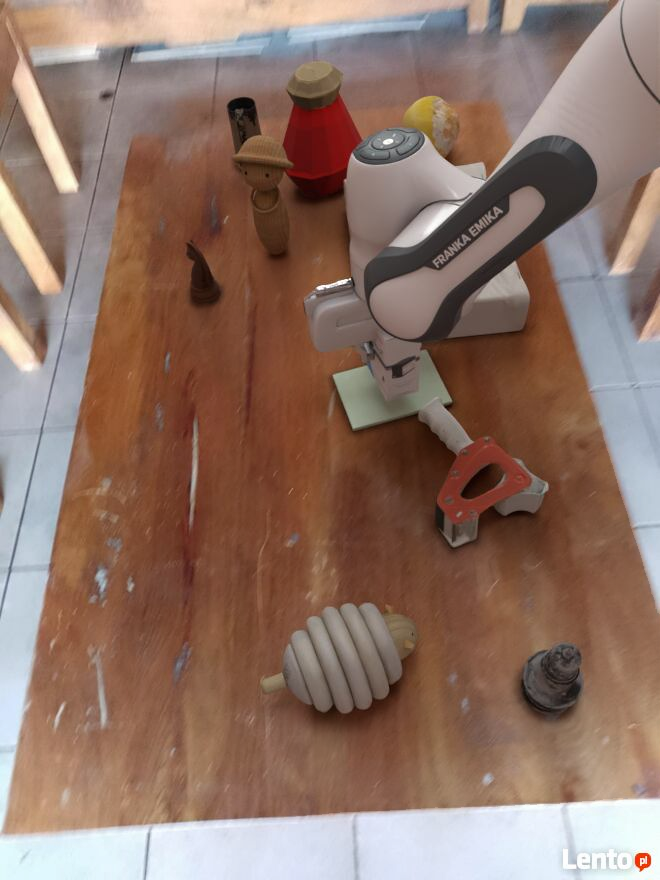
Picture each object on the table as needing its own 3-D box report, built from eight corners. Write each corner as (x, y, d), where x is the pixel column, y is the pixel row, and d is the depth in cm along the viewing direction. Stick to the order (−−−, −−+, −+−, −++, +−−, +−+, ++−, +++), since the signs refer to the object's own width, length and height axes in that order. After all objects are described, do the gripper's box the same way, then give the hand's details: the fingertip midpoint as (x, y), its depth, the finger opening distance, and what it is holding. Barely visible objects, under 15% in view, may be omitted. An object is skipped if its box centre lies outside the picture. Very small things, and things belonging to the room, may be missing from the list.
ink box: (362, 358, 98) (358, 294, 89) (395, 347, 99) (395, 283, 89) (385, 403, 93) (384, 341, 84) (420, 392, 94) (423, 329, 84)
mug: (237, 153, 134) (224, 91, 124) (266, 150, 134) (256, 88, 124) (235, 179, 130) (222, 117, 120) (265, 176, 129) (255, 113, 120)
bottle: (323, 147, 133) (313, 36, 117) (380, 172, 127) (378, 59, 111) (265, 191, 127) (246, 80, 111) (322, 219, 121) (311, 106, 105)
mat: (426, 351, 102) (426, 349, 102) (452, 403, 97) (452, 401, 96) (332, 377, 101) (332, 374, 101) (353, 431, 95) (353, 428, 95)
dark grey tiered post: (517, 658, 77) (534, 616, 67) (573, 663, 76) (600, 621, 66) (519, 715, 73) (537, 680, 63) (578, 720, 72) (606, 686, 63)
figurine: (244, 262, 116) (220, 151, 100) (259, 233, 120) (237, 122, 104) (297, 269, 115) (281, 157, 98) (310, 239, 118) (296, 127, 102)
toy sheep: (438, 685, 76) (444, 650, 66) (293, 761, 72) (278, 735, 63) (391, 601, 81) (390, 558, 72) (254, 668, 78) (235, 631, 69)
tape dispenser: (424, 411, 98) (385, 532, 86) (424, 384, 94) (383, 508, 82) (556, 434, 93) (533, 566, 82) (563, 407, 89) (539, 542, 78)
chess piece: (209, 279, 115) (194, 228, 107) (228, 294, 112) (215, 244, 104) (186, 294, 113) (169, 243, 105) (204, 310, 111) (189, 259, 103)
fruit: (405, 177, 126) (405, 124, 118) (397, 142, 132) (397, 89, 124) (463, 170, 126) (467, 117, 118) (452, 136, 132) (456, 83, 124)
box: (527, 332, 103) (479, 195, 122) (535, 293, 97) (483, 154, 115) (367, 353, 104) (343, 213, 122) (364, 316, 97) (340, 174, 116)
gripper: (308, 310, 78) (319, 390, 90) (484, 265, 80) (473, 348, 92) (294, 273, 82) (306, 354, 93) (462, 231, 84) (454, 315, 95)
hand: (390, 351), depth 92 cm, fingers closed on ink box, 5 cm apart
